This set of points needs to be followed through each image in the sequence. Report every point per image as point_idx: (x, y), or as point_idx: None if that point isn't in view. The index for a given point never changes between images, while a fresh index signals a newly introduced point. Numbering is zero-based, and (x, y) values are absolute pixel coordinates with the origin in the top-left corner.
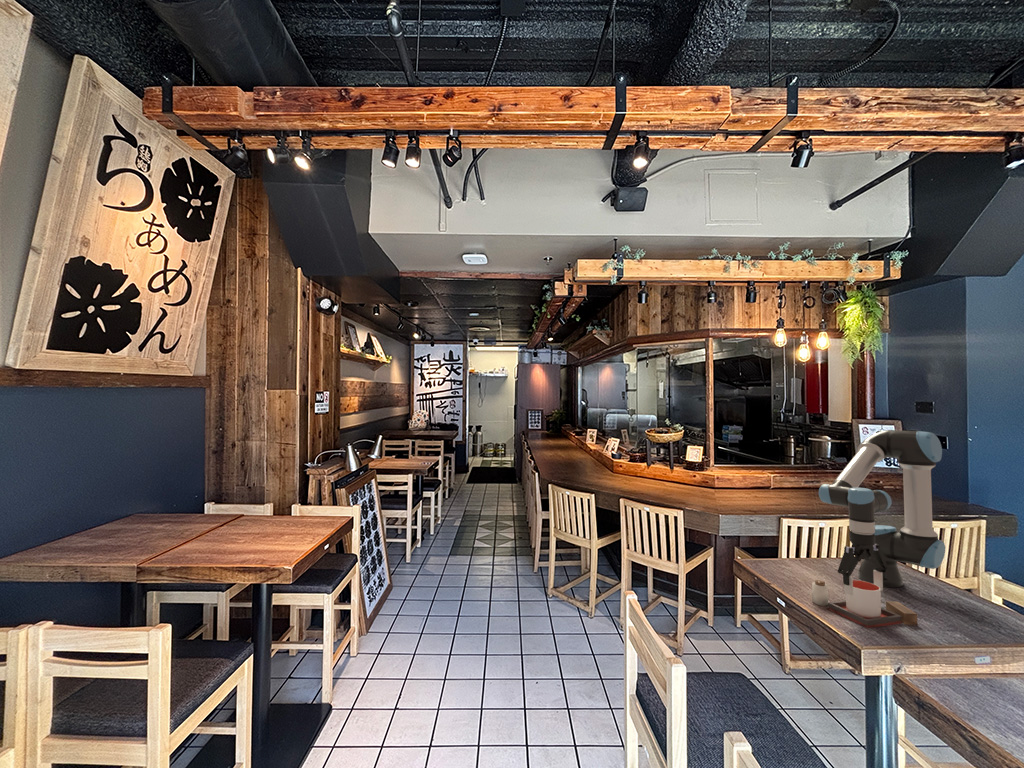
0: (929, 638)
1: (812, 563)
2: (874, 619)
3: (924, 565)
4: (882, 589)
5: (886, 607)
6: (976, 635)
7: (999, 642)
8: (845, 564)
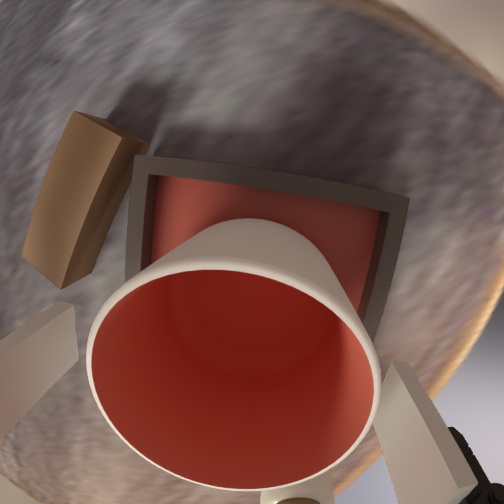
0: (211, 14)
1: (49, 499)
2: (351, 189)
3: None
4: (56, 306)
5: (80, 276)
6: (33, 22)
7: None
8: None
